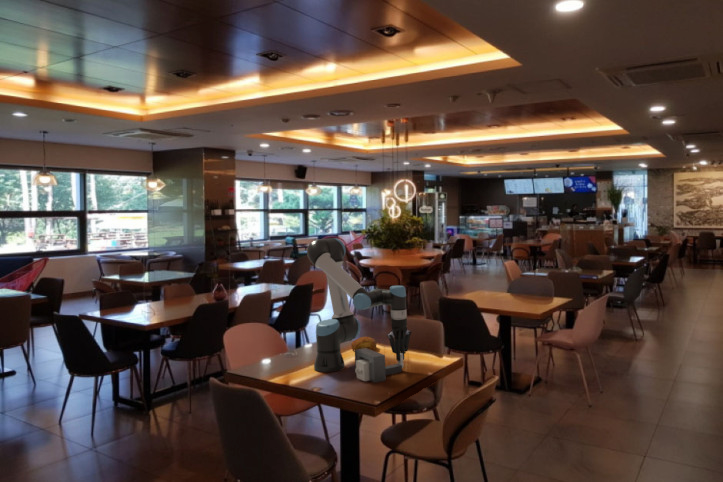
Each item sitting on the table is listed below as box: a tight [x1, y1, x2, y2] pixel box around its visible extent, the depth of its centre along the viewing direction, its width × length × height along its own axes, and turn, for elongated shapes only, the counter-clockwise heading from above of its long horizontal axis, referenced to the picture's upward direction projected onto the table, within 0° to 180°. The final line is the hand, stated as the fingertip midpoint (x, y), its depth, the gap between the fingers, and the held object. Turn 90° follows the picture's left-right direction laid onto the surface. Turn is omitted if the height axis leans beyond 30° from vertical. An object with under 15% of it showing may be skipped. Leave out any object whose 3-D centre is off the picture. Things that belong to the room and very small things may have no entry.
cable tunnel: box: [354, 348, 387, 384], centre depth 251 cm, size 17×6×12 cm, turn 31°
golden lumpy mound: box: [350, 336, 377, 351], centre depth 304 cm, size 14×16×8 cm
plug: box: [354, 359, 403, 382], centre depth 253 cm, size 7×24×8 cm, turn 121°
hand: (400, 366), depth 260 cm, fingers closed
